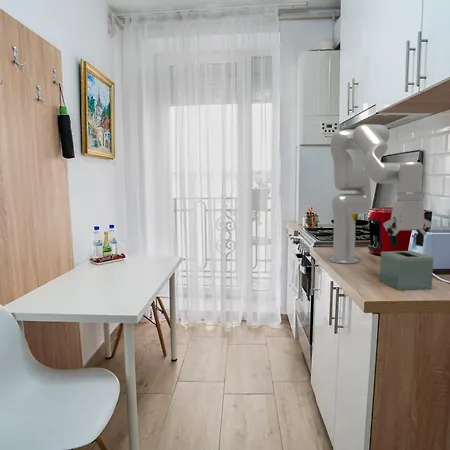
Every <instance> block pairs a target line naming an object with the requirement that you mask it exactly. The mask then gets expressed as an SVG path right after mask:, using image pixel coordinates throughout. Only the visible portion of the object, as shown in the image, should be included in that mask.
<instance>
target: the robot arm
mask: <svg viewBox="0 0 450 450" xmlns="http://www.w3.org/2000/svg"><path fill="white" fill-rule="evenodd" d="M331 136H332V137H331V139H330V143H329V144H330V153H331V156H332V161H333V175H334V176H333V179H334V187H335V189H336V190H337V191H340V192H341V191H342V192H343V191H344V192H352V191H353V192H354V191H355V193H339V194H336V195H335V196H334V197H333V199H332V201H331V205H332V206H331V207H332V213H333V241H332V243H333V246H332V247H333V249H332V250H333V251H332V256H330V257H329V261H330V262H333V263H337V264H348V265H349V264H356V263H358V262H359V259H358V258H357V257H355V250H356V249H355V248H356V247H355V246H356V244H355V243H356V222H355V219H354V217H353V216H352V215H361V214H363V215H364V214H367V213H368V212H369V211H370V209H371V207H372V192H371V190H372V189H371V187H372V186H371V180H372V181H373V182H374V183H377V184H392V185H393V184H396V185H397V187H396V189H397V192H396V201H394V203H393V205H392V209H391V216H390V219H389V220H386V221H385V222H383V227H384V228H385V229H384V230H385V232H387V234H388V236H389V246H390V247H393V248H397V247H398V236H397V234H399V232H400V231H416V234H415V236H416V237H415V246H418V247H424V242H425V236H426V235H427V232H429V231H430V227H431V226H432V221H430V220H428V219H426V218H425V210H424V204H423V201H422V199H424V197H425V195H424V194H422V190H423V189H422V186H423V172H424V171H423V170H424V165H423V164H422V162H419V161H409V162H408V161H407V162H406V161H405V162H382V161H380V159H381V158H383V156H385V154H386V153H387V151H388V144H387V143H388V141H389V139H390V131H389V128H388V127H387V126H386V125H383V124H369V123H368V124H367V123H363V124H359V125H358V126H357V127H356V128H354V129H343V130H338V131H336V132H335V133H333V134H332V135H331ZM348 150H360V151H362V152H363V153H364V155H365V156H364V160H363V165H364V166H363V167H364V170H362V169H361V170H359V169H354V161H353V157H352V156H351V154H350V153H349V151H348Z"/></svg>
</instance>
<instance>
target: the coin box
mask: <svg viewBox="0 0 450 450" xmlns="http://www.w3.org/2000/svg"><path fill="white" fill-rule="evenodd" d="M379 263H380V264H379V265H380V266H379V281H380V282H382V283H384V284H385V285H387V286H390V287H392V288H393V289H395V290H397V291H405V290H406V291H408V290H409V291H411V290H414V291H415V290H432V286H433V272H434V271H433V270H434V269H433V268H434V257H433V256H430V255H427V254H423V253H421V252H417V251H412V250H398V251H397V250H395V251H393V250H392V251H381V252H380V262H379Z"/></svg>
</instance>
